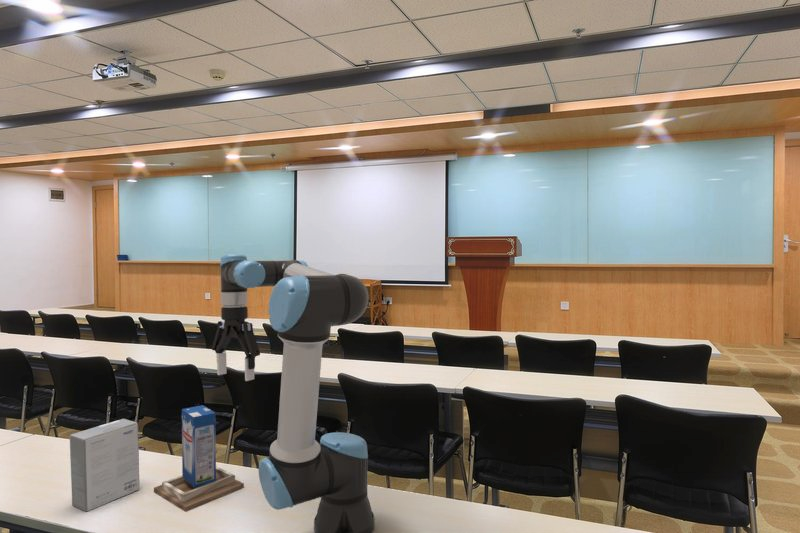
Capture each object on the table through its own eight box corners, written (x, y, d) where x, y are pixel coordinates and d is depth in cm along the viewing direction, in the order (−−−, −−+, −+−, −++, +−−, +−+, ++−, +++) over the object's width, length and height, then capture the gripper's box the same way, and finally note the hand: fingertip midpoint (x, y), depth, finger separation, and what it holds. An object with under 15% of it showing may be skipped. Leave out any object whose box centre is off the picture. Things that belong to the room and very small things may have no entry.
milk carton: (216, 481, 147) (215, 412, 146) (194, 487, 143) (193, 417, 142) (203, 470, 154) (202, 405, 154) (182, 476, 150) (181, 409, 150)
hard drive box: (125, 483, 152) (124, 417, 152) (140, 489, 148) (139, 422, 148) (70, 505, 139) (69, 433, 138) (85, 513, 135) (84, 438, 135)
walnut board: (243, 487, 150) (243, 476, 150) (185, 511, 136) (185, 499, 136) (210, 471, 161) (210, 461, 161) (153, 491, 147) (153, 480, 147)
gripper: (271, 306, 147) (272, 379, 147) (220, 303, 162) (221, 369, 162) (250, 309, 141) (251, 385, 141) (199, 305, 156) (200, 374, 156)
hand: (235, 377), depth 151 cm, fingers open, 13 cm apart
